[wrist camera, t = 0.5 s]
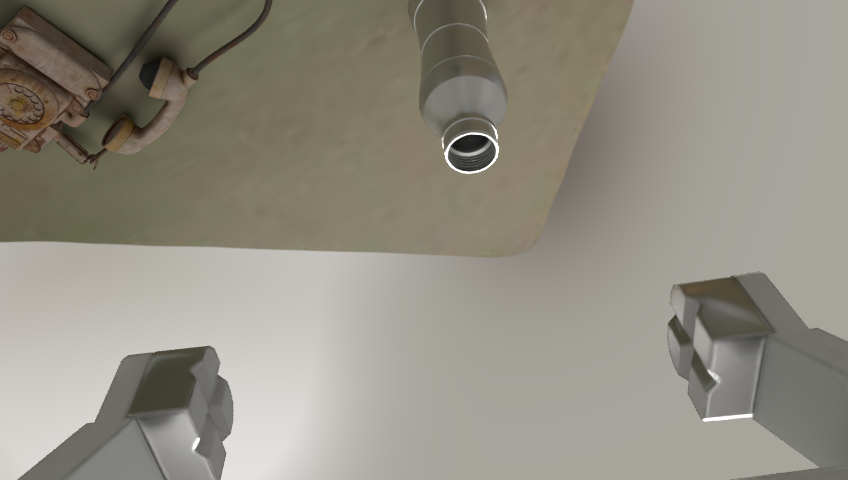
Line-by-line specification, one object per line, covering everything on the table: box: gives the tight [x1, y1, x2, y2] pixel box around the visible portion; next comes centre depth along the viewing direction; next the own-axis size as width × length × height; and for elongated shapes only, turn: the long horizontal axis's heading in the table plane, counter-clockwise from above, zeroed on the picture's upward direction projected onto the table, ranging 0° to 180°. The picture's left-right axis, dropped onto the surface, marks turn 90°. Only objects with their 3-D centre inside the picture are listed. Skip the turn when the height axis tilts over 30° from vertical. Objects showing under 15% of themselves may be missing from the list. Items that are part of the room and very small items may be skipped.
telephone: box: [0, 0, 272, 170], centre depth 62 cm, size 15×33×4 cm, turn 129°
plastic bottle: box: [408, 0, 508, 173], centre depth 54 cm, size 6×7×20 cm
